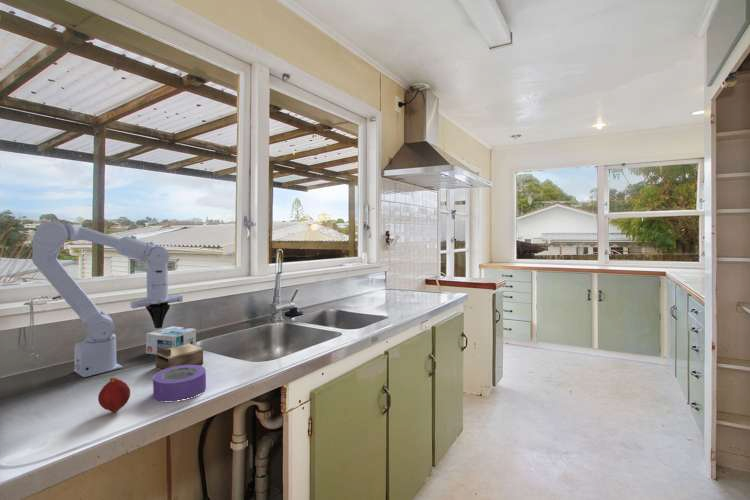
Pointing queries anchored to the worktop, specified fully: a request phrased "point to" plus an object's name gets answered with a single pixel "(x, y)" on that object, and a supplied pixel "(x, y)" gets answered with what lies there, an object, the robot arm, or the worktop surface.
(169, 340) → the light bulb box
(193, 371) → the tape roll
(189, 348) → the lid
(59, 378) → the worktop surface
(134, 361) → the worktop surface
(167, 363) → the walnut box
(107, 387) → the onion
